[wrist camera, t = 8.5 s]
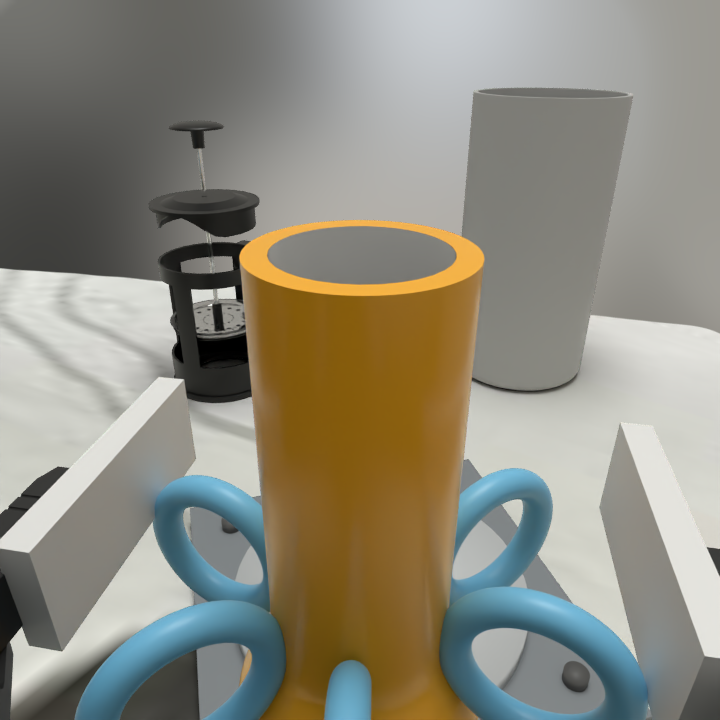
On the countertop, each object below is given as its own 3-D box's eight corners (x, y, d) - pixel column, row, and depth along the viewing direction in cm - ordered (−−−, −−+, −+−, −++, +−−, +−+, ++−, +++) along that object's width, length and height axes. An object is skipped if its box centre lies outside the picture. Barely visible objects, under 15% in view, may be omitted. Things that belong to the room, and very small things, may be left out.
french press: (234, 415, 52) (203, 132, 41) (148, 393, 55) (98, 125, 45) (299, 358, 62) (288, 116, 51) (222, 342, 65) (197, 111, 54)
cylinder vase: (602, 365, 60) (661, 93, 49) (530, 409, 53) (579, 101, 42) (501, 326, 69) (530, 86, 57) (425, 359, 61) (442, 91, 50)
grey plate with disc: (209, 871, 23) (203, 842, 22) (192, 522, 40) (188, 496, 39) (647, 731, 28) (658, 702, 27) (467, 472, 45) (469, 448, 44)
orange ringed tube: (420, 561, 24) (448, 167, 17) (658, 816, 16) (893, 277, 9) (92, 722, 18) (-71, 228, 11) (210, 1244, 10) (-92, 675, 3)
